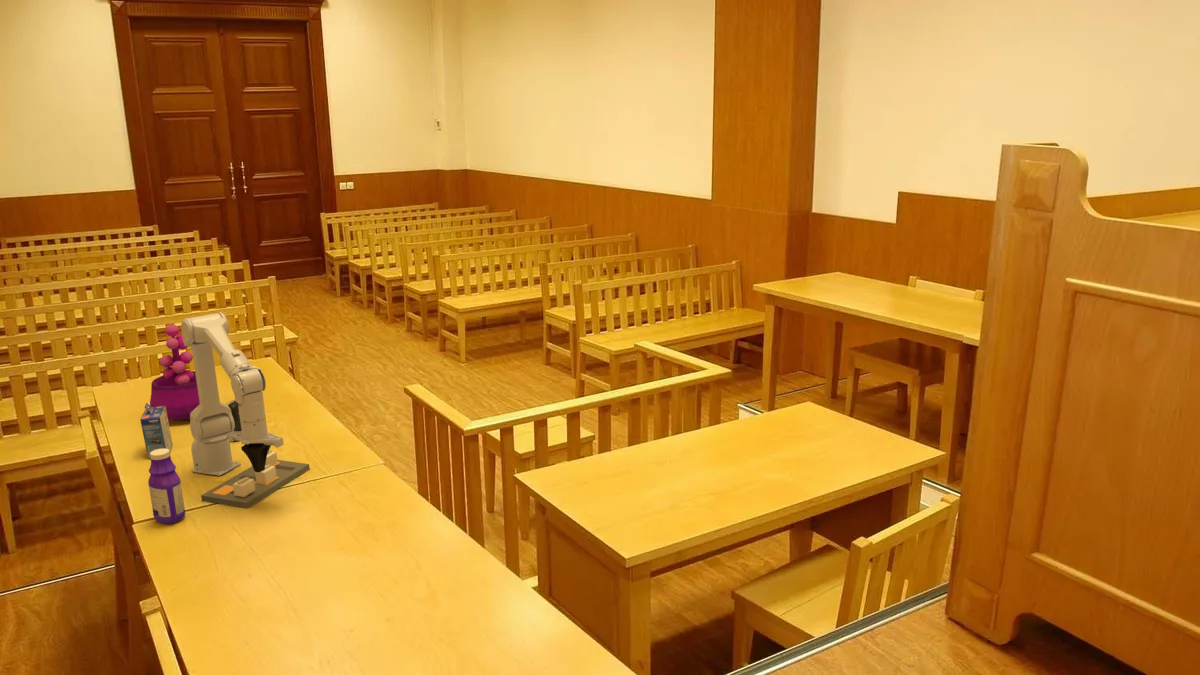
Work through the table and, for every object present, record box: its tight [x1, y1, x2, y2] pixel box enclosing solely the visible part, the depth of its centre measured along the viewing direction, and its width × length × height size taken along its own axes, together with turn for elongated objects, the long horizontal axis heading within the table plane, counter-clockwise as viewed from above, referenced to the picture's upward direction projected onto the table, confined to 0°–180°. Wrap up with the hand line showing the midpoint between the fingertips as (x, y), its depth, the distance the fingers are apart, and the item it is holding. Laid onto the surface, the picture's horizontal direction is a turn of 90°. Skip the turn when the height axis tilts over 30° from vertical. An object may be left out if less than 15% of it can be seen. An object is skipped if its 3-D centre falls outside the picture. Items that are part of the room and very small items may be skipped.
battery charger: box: [225, 399, 242, 431], centre depth 253 cm, size 7×4×11 cm, turn 167°
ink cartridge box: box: [139, 402, 173, 459], centre depth 244 cm, size 10×6×14 cm, turn 18°
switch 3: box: [255, 464, 276, 484], centre depth 222 cm, size 3×4×4 cm
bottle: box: [148, 449, 186, 525], centre depth 203 cm, size 7×6×17 cm
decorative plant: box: [149, 324, 200, 421], centre depth 269 cm, size 19×19×30 cm
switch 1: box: [233, 477, 255, 497], centre depth 214 cm, size 3×4×4 cm
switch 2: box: [265, 449, 278, 466], centre depth 231 cm, size 3×4×4 cm
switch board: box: [200, 459, 311, 509], centre depth 223 cm, size 14×24×2 cm, turn 161°
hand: (259, 470), depth 211 cm, fingers closed
